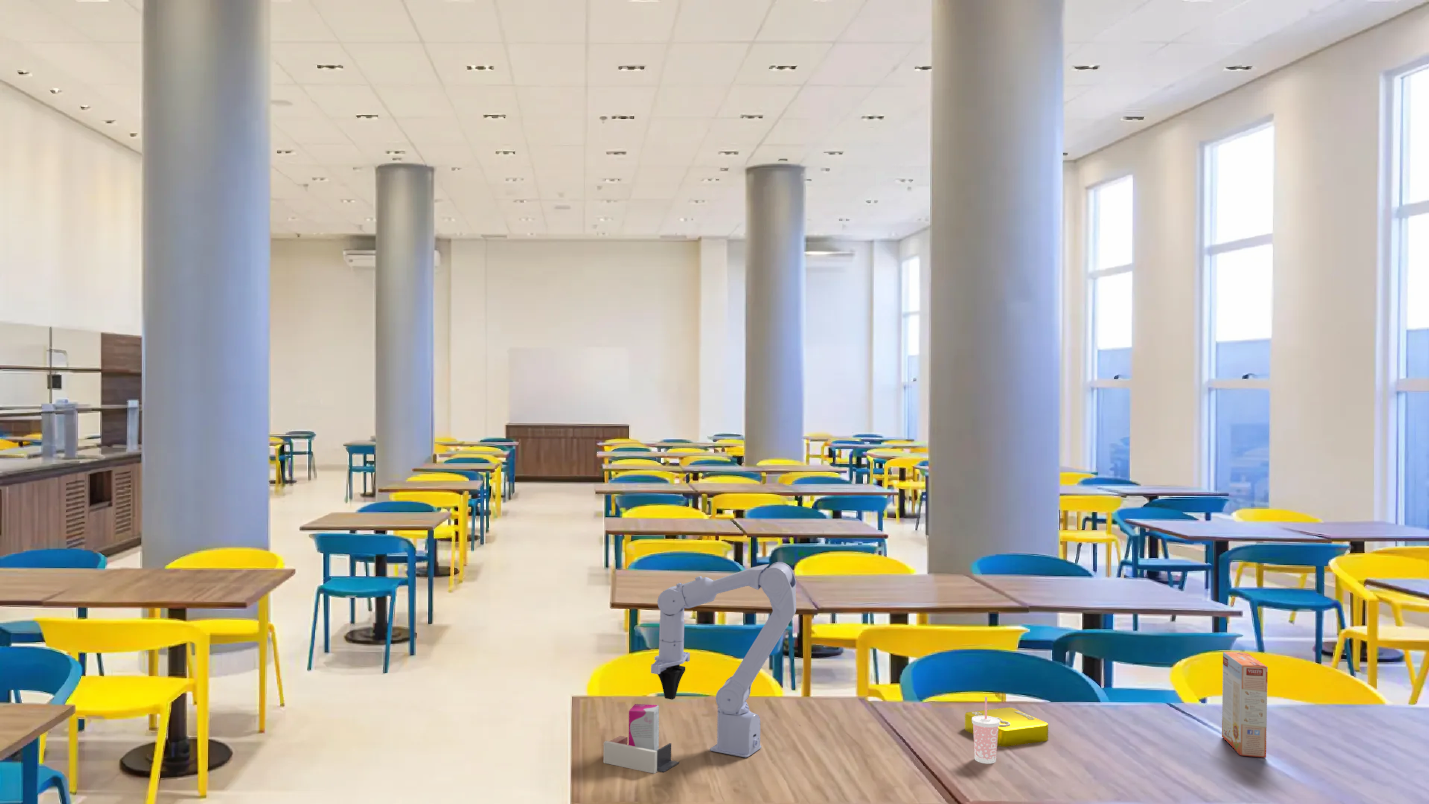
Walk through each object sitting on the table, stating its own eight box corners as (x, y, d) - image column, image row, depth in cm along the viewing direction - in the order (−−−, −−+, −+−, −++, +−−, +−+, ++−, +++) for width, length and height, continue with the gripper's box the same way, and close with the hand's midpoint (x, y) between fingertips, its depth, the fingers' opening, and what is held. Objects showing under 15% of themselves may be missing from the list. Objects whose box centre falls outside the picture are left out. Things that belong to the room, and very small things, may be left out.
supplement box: (659, 755, 222) (659, 704, 222) (653, 765, 216) (654, 712, 216) (633, 754, 223) (634, 702, 223) (627, 763, 217) (628, 710, 217)
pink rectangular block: (627, 752, 223) (627, 737, 224) (611, 761, 218) (611, 745, 218) (619, 751, 224) (620, 735, 224) (603, 759, 219) (603, 744, 219)
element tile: (1052, 742, 236) (1052, 722, 236) (1000, 749, 230) (1000, 728, 230) (1010, 723, 250) (1011, 704, 250) (961, 729, 244) (961, 710, 244)
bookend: (678, 763, 217) (679, 744, 217) (663, 772, 211) (663, 753, 212) (669, 761, 218) (669, 743, 218) (654, 770, 213) (654, 751, 213)
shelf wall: (656, 772, 212) (657, 750, 212) (654, 773, 211) (654, 752, 211) (606, 761, 218) (606, 740, 218) (603, 762, 217) (603, 742, 217)
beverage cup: (980, 765, 218) (981, 701, 218) (966, 756, 224) (966, 694, 224) (1005, 763, 220) (1005, 700, 220) (990, 754, 226) (990, 692, 226)
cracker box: (1268, 758, 225) (1268, 666, 225) (1239, 756, 226) (1240, 664, 226) (1248, 739, 239) (1248, 651, 239) (1221, 737, 240) (1221, 650, 240)
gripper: (672, 631, 239) (670, 688, 239) (640, 643, 226) (638, 703, 226) (698, 635, 235) (696, 692, 235) (667, 647, 222) (665, 708, 222)
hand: (669, 698), depth 230 cm, fingers closed
